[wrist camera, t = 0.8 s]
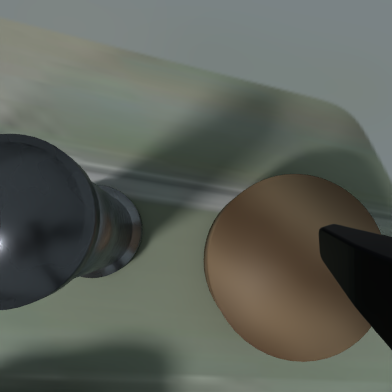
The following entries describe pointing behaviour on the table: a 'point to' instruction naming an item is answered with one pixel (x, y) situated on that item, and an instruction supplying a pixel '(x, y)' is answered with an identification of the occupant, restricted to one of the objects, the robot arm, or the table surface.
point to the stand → (284, 267)
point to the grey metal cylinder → (56, 222)
